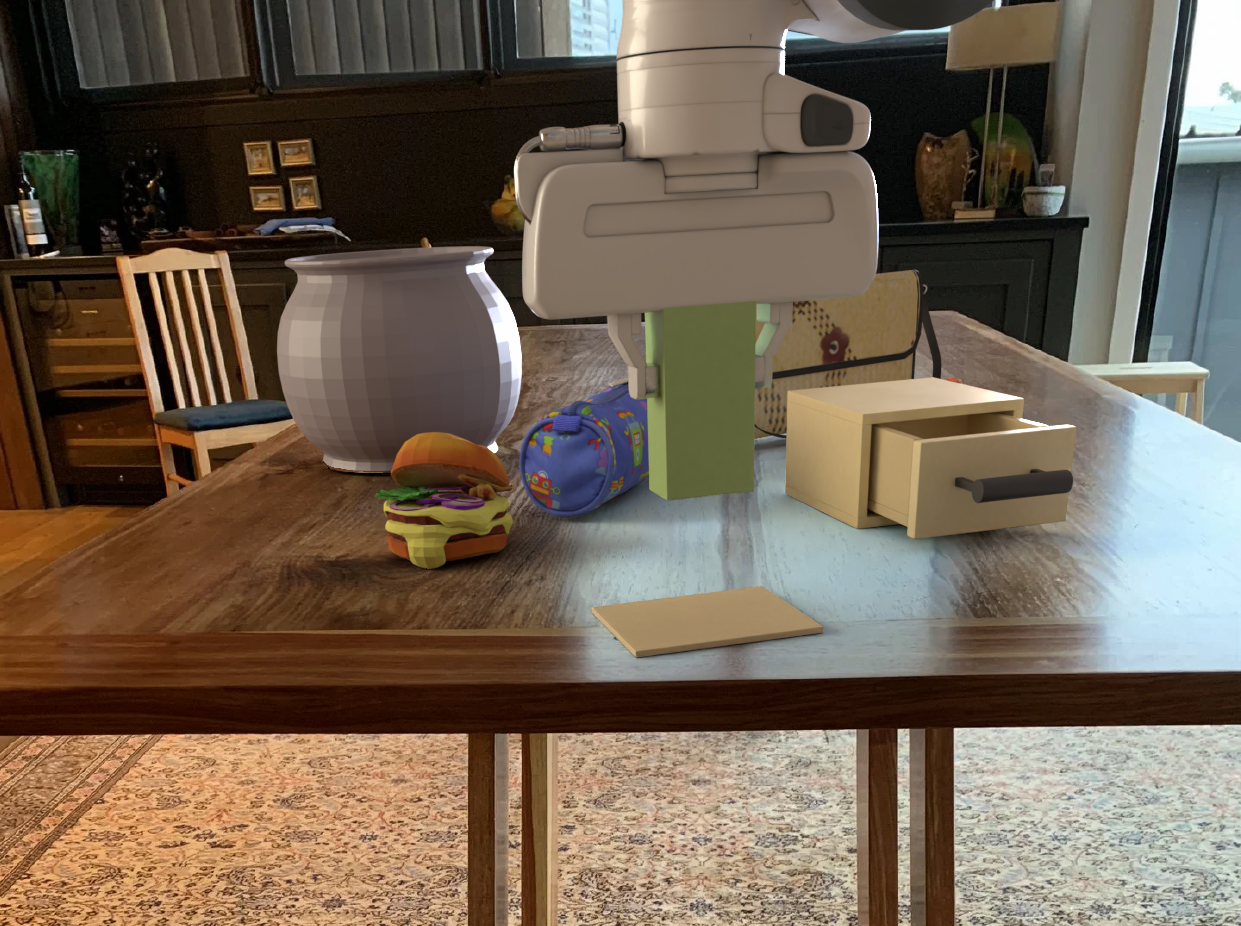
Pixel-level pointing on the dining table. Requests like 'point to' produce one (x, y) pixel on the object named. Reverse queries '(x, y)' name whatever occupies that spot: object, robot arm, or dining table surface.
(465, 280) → the grey round vase
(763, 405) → the woven shoulder bag
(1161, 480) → the dining table surface
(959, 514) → the drawer
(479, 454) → the cheeseburger
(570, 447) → the pencil case
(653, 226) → the robot arm
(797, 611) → the tan flat wooden board
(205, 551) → the dining table surface
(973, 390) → the cabinet
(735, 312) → the sage green upright pillar
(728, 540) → the dining table surface
